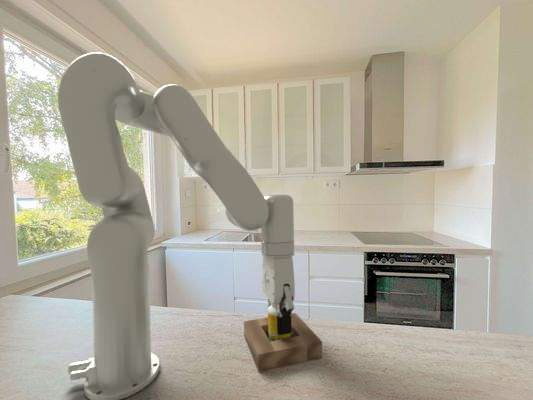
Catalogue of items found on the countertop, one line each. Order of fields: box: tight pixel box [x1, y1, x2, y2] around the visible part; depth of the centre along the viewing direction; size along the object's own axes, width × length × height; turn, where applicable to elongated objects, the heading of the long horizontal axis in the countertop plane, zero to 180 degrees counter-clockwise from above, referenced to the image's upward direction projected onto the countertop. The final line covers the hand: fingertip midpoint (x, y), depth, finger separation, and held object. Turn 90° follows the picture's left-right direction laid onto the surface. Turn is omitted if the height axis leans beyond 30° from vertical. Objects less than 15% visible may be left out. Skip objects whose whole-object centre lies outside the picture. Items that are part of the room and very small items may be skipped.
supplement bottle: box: [267, 298, 292, 342], centre depth 57 cm, size 5×5×10 cm
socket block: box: [243, 312, 323, 373], centre depth 57 cm, size 14×14×4 cm
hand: (279, 325), depth 57 cm, fingers closed on supplement bottle, 5 cm apart
